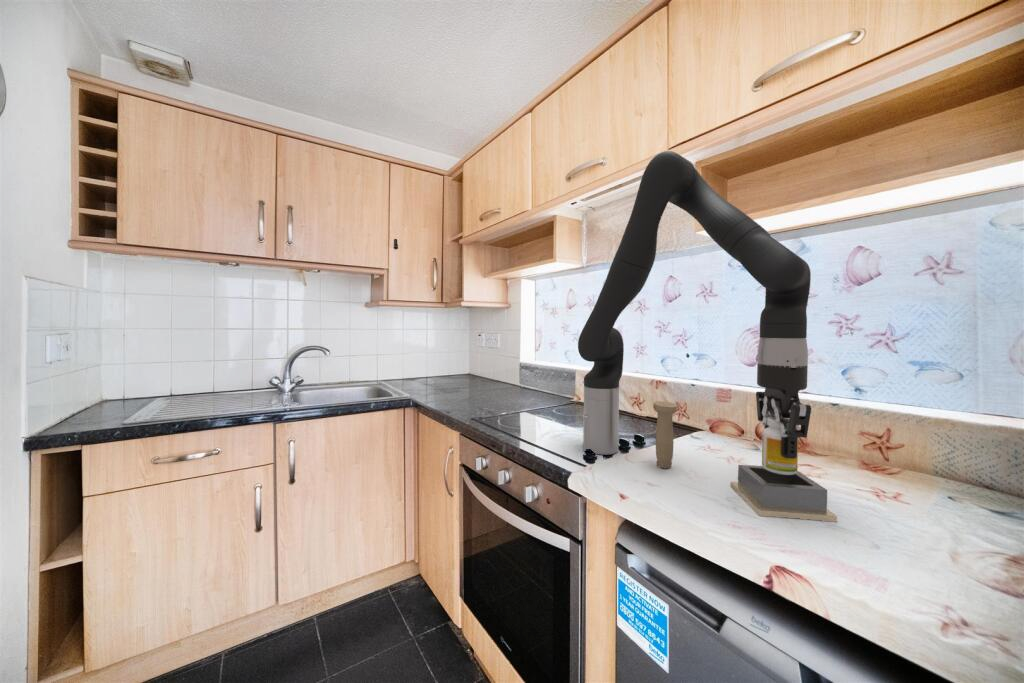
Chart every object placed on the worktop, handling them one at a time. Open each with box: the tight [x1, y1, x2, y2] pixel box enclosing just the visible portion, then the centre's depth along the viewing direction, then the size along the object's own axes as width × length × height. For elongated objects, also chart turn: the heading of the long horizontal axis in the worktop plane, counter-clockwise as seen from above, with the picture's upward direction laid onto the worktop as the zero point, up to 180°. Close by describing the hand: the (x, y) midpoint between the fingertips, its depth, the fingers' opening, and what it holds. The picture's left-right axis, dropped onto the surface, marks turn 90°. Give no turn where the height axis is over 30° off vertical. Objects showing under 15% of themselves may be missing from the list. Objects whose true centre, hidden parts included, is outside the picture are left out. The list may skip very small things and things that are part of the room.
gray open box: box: [730, 464, 838, 523], centre depth 68 cm, size 12×12×5 cm
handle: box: [652, 400, 678, 469], centre depth 86 cm, size 5×6×15 cm
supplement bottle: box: [761, 417, 799, 475], centre depth 68 cm, size 5×5×10 cm
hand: (779, 451), depth 68 cm, fingers closed on supplement bottle, 5 cm apart
